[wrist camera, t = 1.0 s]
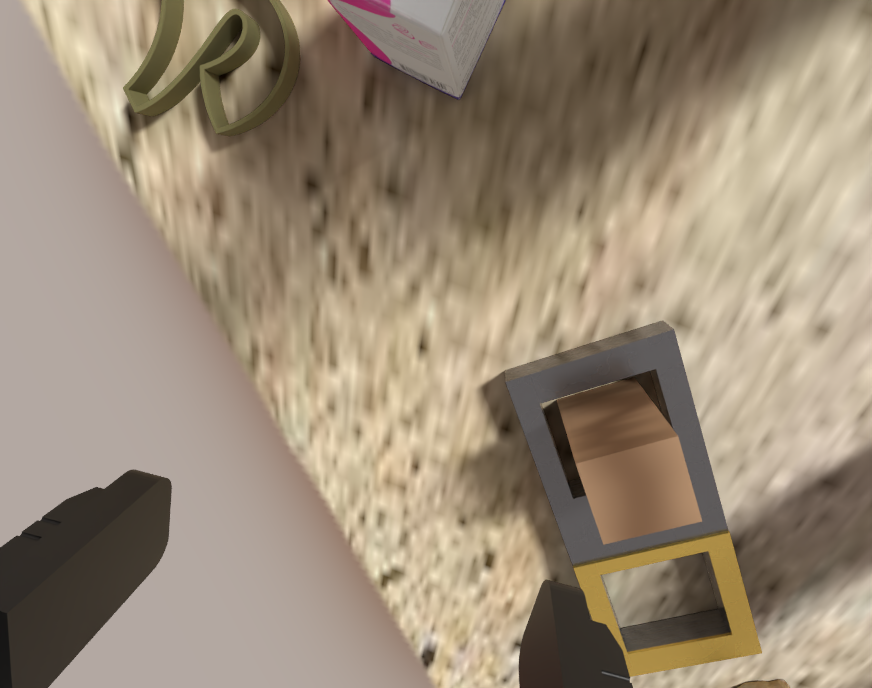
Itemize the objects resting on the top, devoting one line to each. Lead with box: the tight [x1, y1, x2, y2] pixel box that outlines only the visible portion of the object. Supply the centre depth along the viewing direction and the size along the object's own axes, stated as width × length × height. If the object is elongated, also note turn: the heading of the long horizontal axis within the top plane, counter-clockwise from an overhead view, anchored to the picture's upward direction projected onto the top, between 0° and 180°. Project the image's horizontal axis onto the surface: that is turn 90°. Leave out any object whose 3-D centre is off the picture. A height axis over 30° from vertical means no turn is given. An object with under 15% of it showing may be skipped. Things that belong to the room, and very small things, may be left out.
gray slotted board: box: [505, 321, 762, 677], centre depth 33 cm, size 10×24×2 cm, turn 21°
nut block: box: [557, 377, 702, 545], centre depth 29 cm, size 5×5×8 cm
